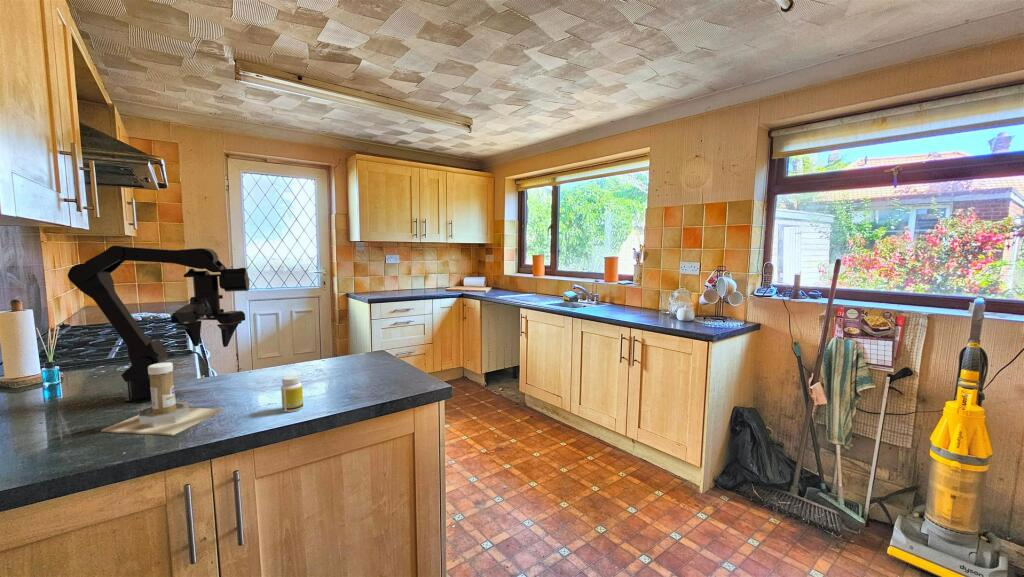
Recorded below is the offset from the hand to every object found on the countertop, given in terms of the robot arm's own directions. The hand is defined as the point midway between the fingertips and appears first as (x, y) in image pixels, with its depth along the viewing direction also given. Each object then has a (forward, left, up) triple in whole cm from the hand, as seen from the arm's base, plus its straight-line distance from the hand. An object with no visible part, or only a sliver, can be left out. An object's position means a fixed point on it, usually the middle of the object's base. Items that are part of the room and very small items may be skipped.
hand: (210, 346), depth 121 cm
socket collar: (+6, -21, -13) cm, 25 cm away
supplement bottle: (+32, -11, -13) cm, 36 cm away
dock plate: (+6, -21, -13) cm, 25 cm away
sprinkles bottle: (+6, -21, -13) cm, 25 cm away
